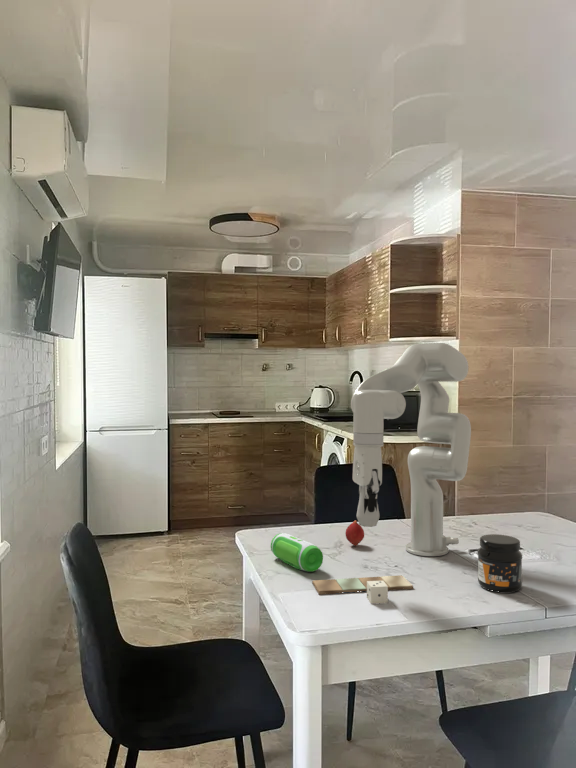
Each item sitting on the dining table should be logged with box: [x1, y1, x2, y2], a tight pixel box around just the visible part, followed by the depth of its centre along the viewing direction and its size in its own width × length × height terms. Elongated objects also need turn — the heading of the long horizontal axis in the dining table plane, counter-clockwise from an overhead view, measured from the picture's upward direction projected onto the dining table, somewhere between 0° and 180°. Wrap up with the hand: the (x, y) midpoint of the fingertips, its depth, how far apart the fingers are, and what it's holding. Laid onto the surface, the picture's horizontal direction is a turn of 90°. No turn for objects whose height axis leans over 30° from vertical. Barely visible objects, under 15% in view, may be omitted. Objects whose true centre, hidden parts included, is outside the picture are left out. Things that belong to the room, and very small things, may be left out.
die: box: [366, 581, 389, 605], centre depth 139 cm, size 4×4×4 cm
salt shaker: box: [356, 483, 380, 528], centre depth 148 cm, size 6×6×13 cm
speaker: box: [270, 532, 324, 573], centre depth 166 cm, size 18×7×8 cm, turn 32°
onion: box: [344, 519, 365, 547], centre depth 184 cm, size 6×6×8 cm
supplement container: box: [477, 533, 523, 593], centre depth 148 cm, size 10×10×12 cm
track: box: [311, 575, 414, 596], centre depth 149 cm, size 24×8×1 cm, turn 99°
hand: (367, 512), depth 148 cm, fingers closed on salt shaker, 3 cm apart
